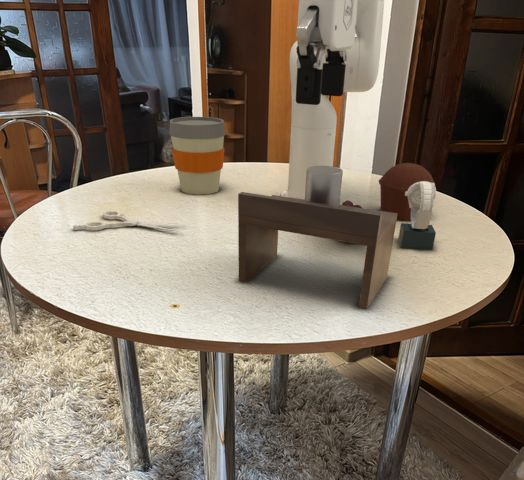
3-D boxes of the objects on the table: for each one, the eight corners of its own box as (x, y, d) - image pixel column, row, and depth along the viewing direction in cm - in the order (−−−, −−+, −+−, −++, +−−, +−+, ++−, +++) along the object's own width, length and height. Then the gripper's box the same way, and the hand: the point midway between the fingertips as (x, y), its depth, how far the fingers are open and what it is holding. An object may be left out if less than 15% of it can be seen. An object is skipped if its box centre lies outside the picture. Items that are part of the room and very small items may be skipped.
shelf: (270, 255, 87) (273, 175, 80) (387, 277, 80) (401, 192, 73) (238, 281, 78) (238, 193, 71) (366, 309, 71) (380, 215, 64)
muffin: (381, 203, 114) (388, 156, 109) (432, 210, 111) (441, 162, 105) (369, 218, 105) (375, 167, 100) (423, 226, 101) (433, 174, 96)
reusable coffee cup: (162, 189, 120) (156, 120, 112) (200, 179, 129) (198, 114, 121) (199, 199, 114) (195, 127, 106) (237, 189, 122) (237, 121, 114)
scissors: (100, 209, 103) (193, 217, 100) (100, 213, 104) (193, 221, 100) (72, 226, 95) (173, 235, 91) (73, 230, 95) (174, 239, 91)
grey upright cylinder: (311, 205, 77) (313, 164, 74) (342, 210, 75) (347, 168, 72) (298, 214, 73) (301, 171, 70) (332, 219, 71) (336, 175, 68)
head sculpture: (426, 237, 96) (438, 177, 90) (434, 253, 89) (447, 189, 83) (396, 236, 96) (406, 176, 90) (401, 251, 90) (412, 187, 84)
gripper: (340, -73, 52) (326, 110, 62) (381, -54, 65) (364, 94, 75) (273, -70, 55) (269, 105, 64) (325, -53, 68) (315, 91, 77)
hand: (320, 99), depth 69 cm, fingers open, 9 cm apart
